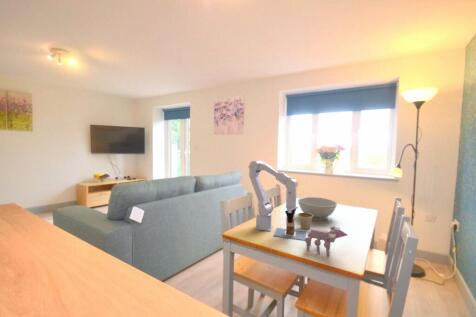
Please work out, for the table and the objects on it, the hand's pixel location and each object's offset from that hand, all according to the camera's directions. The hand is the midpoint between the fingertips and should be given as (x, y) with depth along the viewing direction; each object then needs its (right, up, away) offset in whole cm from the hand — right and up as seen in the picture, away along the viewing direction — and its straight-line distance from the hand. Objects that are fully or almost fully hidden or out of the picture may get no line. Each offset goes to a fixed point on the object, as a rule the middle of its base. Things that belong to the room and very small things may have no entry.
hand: (290, 221), depth 140 cm
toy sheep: (+13, -10, -22) cm, 27 cm away
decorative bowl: (+26, -6, +32) cm, 42 cm away
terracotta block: (0, -2, 0) cm, 2 cm away
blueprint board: (0, -8, +1) cm, 8 cm away
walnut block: (0, -7, +1) cm, 7 cm away
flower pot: (+12, -7, +11) cm, 18 cm away
